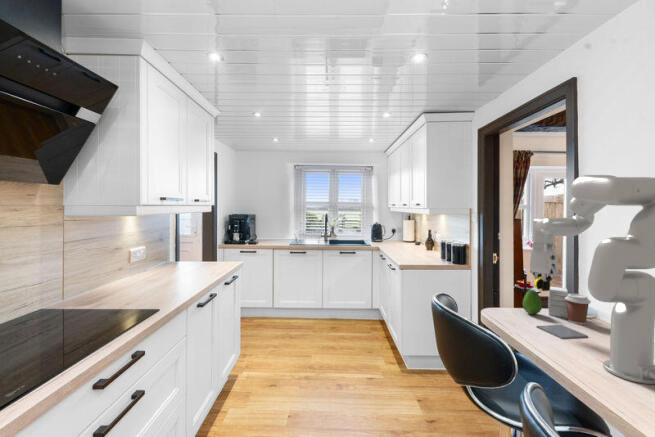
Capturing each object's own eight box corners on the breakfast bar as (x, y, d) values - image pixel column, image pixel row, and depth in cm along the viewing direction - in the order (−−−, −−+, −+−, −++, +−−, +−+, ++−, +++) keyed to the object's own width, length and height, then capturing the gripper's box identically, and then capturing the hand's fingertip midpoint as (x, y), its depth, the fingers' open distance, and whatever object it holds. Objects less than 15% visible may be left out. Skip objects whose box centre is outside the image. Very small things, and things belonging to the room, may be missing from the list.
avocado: (523, 315, 149) (524, 290, 149) (521, 310, 156) (521, 286, 156) (543, 317, 146) (544, 292, 145) (540, 312, 153) (540, 288, 152)
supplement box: (548, 311, 156) (548, 286, 155) (566, 314, 151) (567, 288, 151) (548, 315, 150) (548, 289, 149) (567, 318, 145) (568, 291, 145)
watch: (547, 290, 135) (549, 277, 134) (551, 292, 132) (552, 278, 132) (532, 289, 135) (534, 275, 135) (536, 290, 133) (537, 277, 133)
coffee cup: (559, 319, 143) (560, 294, 143) (571, 317, 147) (571, 292, 146) (582, 326, 135) (583, 299, 134) (594, 323, 138) (595, 296, 138)
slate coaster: (588, 337, 123) (588, 335, 123) (561, 338, 122) (561, 337, 121) (561, 326, 135) (561, 324, 135) (536, 327, 133) (536, 325, 133)
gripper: (567, 248, 126) (567, 293, 126) (535, 245, 142) (535, 285, 142) (551, 248, 125) (551, 294, 125) (520, 245, 141) (520, 285, 141)
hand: (542, 289), depth 133 cm, fingers closed on watch, 2 cm apart
